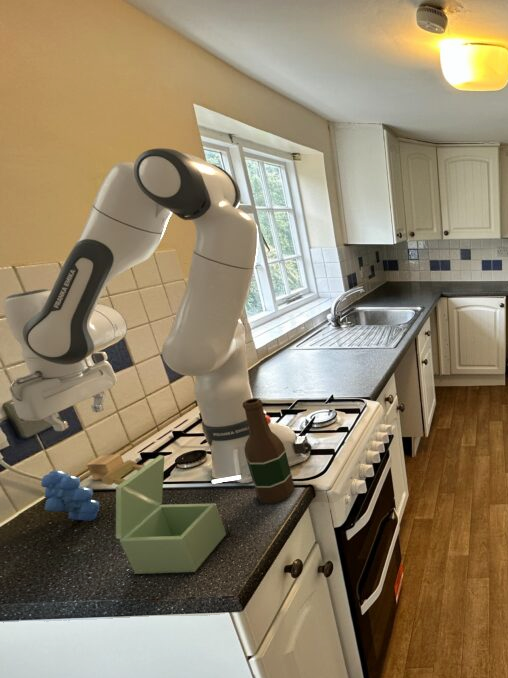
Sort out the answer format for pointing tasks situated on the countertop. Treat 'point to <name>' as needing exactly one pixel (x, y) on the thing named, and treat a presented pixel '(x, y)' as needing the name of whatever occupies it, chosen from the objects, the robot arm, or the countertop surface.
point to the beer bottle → (266, 457)
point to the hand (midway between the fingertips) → (81, 419)
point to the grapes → (69, 496)
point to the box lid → (136, 492)
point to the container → (174, 538)
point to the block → (104, 465)
